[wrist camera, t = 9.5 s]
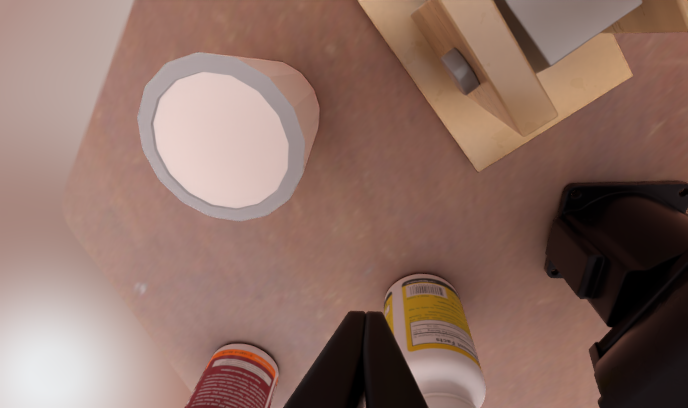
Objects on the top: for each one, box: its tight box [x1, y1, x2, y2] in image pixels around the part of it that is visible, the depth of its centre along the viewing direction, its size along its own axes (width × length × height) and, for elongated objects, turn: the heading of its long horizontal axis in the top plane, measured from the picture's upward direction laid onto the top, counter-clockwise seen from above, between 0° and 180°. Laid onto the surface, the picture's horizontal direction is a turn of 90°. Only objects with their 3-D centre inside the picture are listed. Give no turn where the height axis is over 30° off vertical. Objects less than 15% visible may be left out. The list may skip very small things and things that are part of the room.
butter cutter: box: [357, 0, 688, 172], centre depth 12 cm, size 13×8×10 cm, turn 40°
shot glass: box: [137, 52, 320, 221], centre depth 16 cm, size 7×7×7 cm
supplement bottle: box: [384, 274, 486, 408], centre depth 20 cm, size 5×5×10 cm
